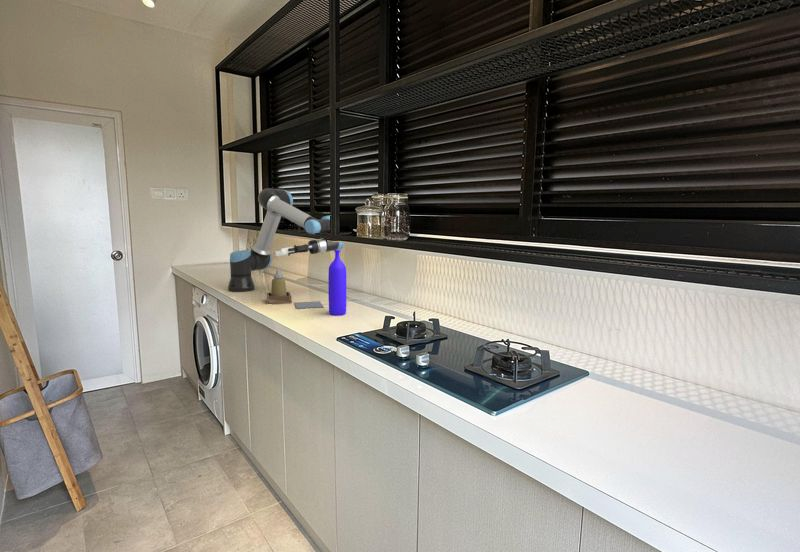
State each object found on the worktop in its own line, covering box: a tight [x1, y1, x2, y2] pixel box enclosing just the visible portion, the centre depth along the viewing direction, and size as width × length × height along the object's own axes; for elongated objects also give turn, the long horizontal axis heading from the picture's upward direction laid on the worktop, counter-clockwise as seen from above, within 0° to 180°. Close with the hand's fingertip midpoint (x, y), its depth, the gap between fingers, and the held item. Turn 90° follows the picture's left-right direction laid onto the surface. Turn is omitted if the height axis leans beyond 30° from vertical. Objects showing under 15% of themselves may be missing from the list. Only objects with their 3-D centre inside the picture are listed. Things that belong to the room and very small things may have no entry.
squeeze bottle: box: [270, 267, 287, 296], centre depth 217 cm, size 8×8×18 cm
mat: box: [294, 300, 324, 310], centre depth 210 cm, size 13×13×1 cm
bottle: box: [327, 249, 347, 317], centre depth 192 cm, size 8×8×30 cm
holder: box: [266, 291, 293, 305], centre depth 218 cm, size 12×12×4 cm
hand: (278, 252), depth 218 cm, fingers open, 13 cm apart
